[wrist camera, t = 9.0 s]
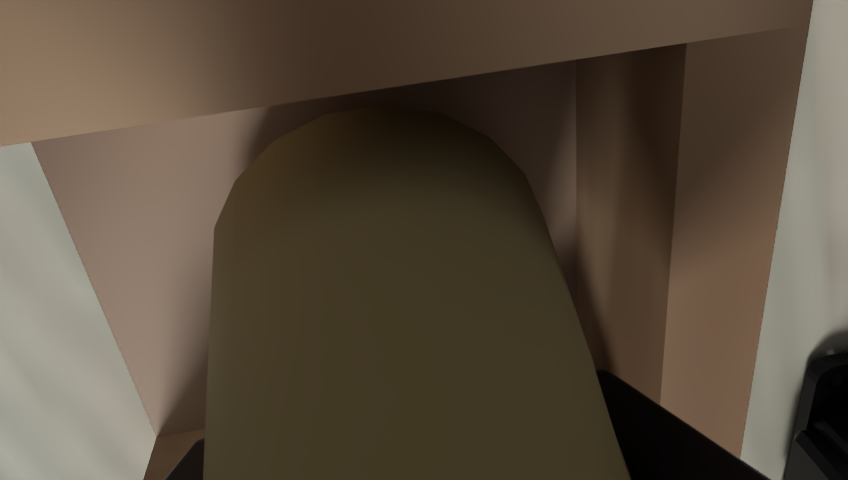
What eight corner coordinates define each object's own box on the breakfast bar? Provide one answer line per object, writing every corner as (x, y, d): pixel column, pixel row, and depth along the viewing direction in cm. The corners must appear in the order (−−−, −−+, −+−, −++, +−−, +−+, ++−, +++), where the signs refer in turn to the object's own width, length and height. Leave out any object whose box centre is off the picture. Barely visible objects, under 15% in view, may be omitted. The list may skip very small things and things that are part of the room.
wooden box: (646, -151, 11) (840, -174, 7) (624, 394, 17) (723, 562, 13) (-29, -61, 10) (-272, -27, 6) (189, 472, 16) (140, 678, 12)
